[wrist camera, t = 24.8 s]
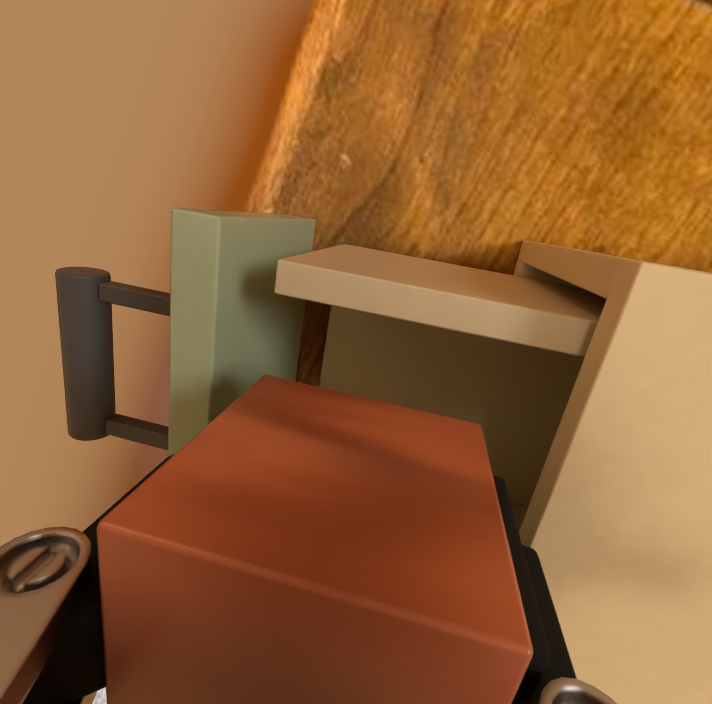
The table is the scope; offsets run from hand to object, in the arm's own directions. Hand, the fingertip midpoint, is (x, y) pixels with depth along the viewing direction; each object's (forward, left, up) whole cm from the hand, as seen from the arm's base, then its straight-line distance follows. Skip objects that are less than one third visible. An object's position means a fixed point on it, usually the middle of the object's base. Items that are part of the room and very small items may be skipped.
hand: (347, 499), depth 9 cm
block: (0, 0, 0) cm, 0 cm away
